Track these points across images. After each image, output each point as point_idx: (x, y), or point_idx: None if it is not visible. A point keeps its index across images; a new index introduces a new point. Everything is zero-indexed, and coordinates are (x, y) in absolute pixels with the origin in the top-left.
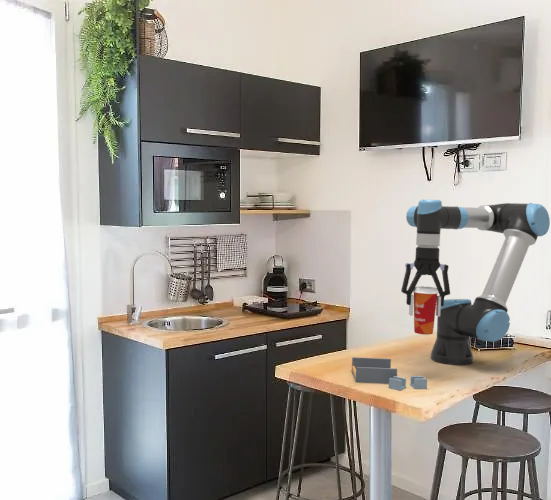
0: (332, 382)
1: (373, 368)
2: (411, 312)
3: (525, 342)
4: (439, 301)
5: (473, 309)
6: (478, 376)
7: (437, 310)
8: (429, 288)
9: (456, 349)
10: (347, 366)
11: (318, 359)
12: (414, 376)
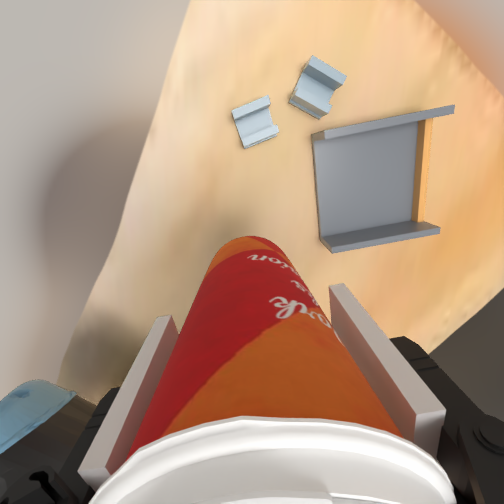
0: (486, 87)
1: (398, 116)
2: (346, 294)
3: None
4: (120, 411)
5: None
6: (114, 280)
7: (165, 353)
8: None
9: None
10: (416, 261)
11: (474, 296)
12: (268, 131)
